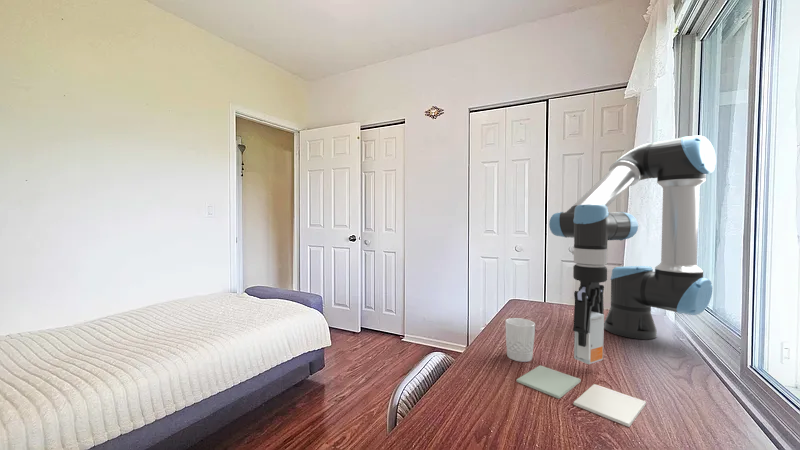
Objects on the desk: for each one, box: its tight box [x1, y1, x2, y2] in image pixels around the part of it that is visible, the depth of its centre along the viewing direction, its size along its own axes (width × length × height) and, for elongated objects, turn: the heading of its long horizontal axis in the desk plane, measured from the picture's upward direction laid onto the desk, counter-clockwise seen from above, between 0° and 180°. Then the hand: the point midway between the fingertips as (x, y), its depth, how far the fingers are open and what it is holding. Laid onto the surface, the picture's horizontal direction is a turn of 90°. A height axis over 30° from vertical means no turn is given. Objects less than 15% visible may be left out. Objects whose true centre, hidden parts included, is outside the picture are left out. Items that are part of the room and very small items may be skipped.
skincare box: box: [573, 311, 605, 365], centre depth 87 cm, size 6×4×12 cm
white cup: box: [505, 317, 536, 363], centre depth 95 cm, size 8×8×10 cm
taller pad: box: [573, 383, 647, 428], centre depth 71 cm, size 12×10×1 cm
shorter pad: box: [516, 364, 582, 400], centre depth 81 cm, size 12×10×1 cm
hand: (588, 353), depth 87 cm, fingers closed on skincare box, 7 cm apart
